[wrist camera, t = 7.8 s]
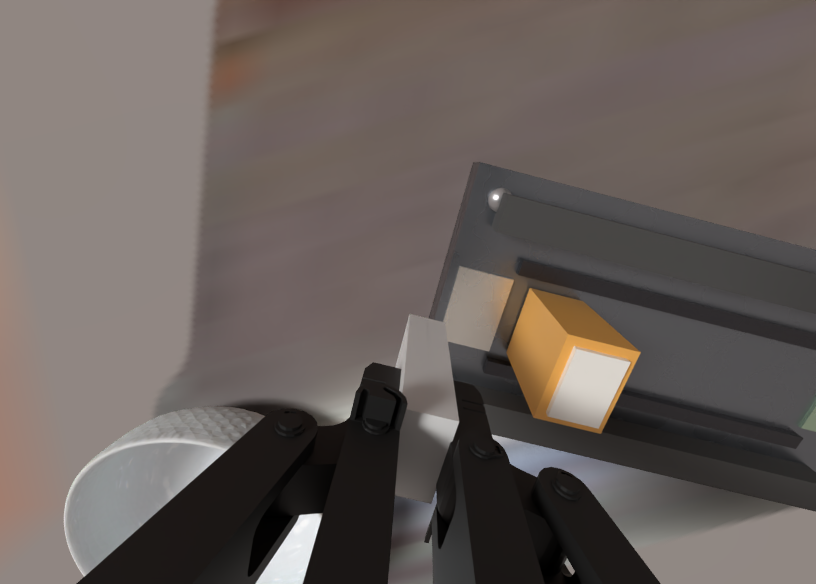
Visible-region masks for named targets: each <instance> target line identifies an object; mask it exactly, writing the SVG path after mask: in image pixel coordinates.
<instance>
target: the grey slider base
mask: <svg viewBox="0 0 816 584" xmlns="http://www.w3.org/2000/svg"><path fill="white" fill-rule="evenodd" d="M503 193H507V194H511V195H515V196H519V197H523V198H527V199H531V200H535V201H539V202H542V203H546V204H550V205H554V206H558V207H562V208H565V209H569V210H573V211H577V212H581V213H585V214H589V215H592V216H596V217H600V218H604V219H608V220H612V221H616V222H619V223H623V224H627V225H631V226H635V227H639V228H643V229H646V230H650V231H654V232H658V233H662V234H666V235H670V236H673V237H677V238H681V239H685V240H689V241H693V242H697V243H700V244H704V245H708V246H712V247H716V248H720V249H724V250H727V251H731V252H735V253H739V254H743V255H747V256H751V257H754V258H758V259H762V260H766V261H770V262H774V263H777V264H781V265H785V266H789V267H793V268H797V269H801V270H804V271H808V272H812V273H816V250H814V249H810V248H806V247H802V246H798V245H794V244H791V243H787V242H783V241H779V240H775V239H772V238H768V237H764V236H760V235H756V234H752V233H749V232H745V231H741V230H737V229H733V228H729V227H726V226H722V225H718V224H714V223H710V222H707V221H703V220H699V219H695V218H691V217H687V216H684V215H680V214H676V213H672V212H668V211H664V210H661V209H657V208H653V207H649V206H645V205H642V204H638V203H634V202H630V201H626V200H622V199H619V198H615V197H611V196H607V195H603V194H599V193H596V192H592V191H588V190H584V189H580V188H576V187H573V186H569V185H565V184H561V183H557V182H554V181H550V180H546V179H542V178H538V177H534V176H531V175H527V174H523V173H519V172H515V171H511V170H508V169H504V168H500V167H496V166H492V165H489V164H485V163H481V162H473V165H472V168H471V172H470V175H469V179H468V182H467V186H466V189H465V193H464V196H463V200H462V203H461V207H460V210H459V214H458V217H457V221H456V225H455V228H454V232H453V235H452V239H451V242H450V246H449V249H448V253H447V256H446V260H445V263H444V267H443V270H442V274H441V277H440V281H439V284H438V288H437V291H436V295H435V298H434V302H433V305H432V309H431V312H430V316H429V319H433V320H437V321H441V322H445V326H446V333H447V340H448V347H449V354H450V361H451V368H452V375H453V380H457V381H461V382H465V383H469V384H474V385H478V386H482V387H486V388H490V389H494V390H498V391H502V392H507V393H511V394H515V395H519V396H523V397H525V396H524V394H523V392H522V389H521V387H520V384H519V382H518V380H517V377H516V375H515V372H514V370H513V368H512V365H511V363H510V360H509V358H508V356H507V353H506V352H507V349H508V346H509V343H510V341H511V338H512V335H513V333H514V330H515V327H516V324H517V322H518V319H519V316H520V313H521V311H522V308H523V305H524V302H525V300H526V297H527V294H528V292H529V289H530V288H533V289H537V290H541V291H545V292H549V293H552V294H556V295H560V296H564V297H568V298H572V299H576V300H580V301H583V302H585V303H586V304H587V305H588V306H589V307H590V308H591V309H593V310H594V311H595V312H596V313H597V314H598V315H599V316H600V317H602V318H603V319H604V320H605V321H606V322H607V323H608V324H609V325H611V326H612V327H613V328H614V329H615V330H616V331H617V332H618V333H620V334H621V335H622V336H623V337H624V338H625V339H626V340H627V341H629V342H630V343H631V344H632V345H633V346H634V347H635V348H636V349H638V350H639V351H640V352H641V353H640V355H639V357H638V359H637V361H636V363H635V365H634V367H633V369H632V371H631V373H630V376H629V378H628V380H627V382H626V384H625V386H624V388H623V390H622V392H621V394H620V396H619V398H618V400H617V402H616V404H615V406H614V408H613V410H612V412H611V414H610V416H609V417H610V418H614V419H618V420H622V421H626V422H630V423H635V424H639V425H643V426H647V427H651V428H655V429H659V430H663V431H668V432H672V433H676V434H680V435H684V436H688V437H692V438H696V439H701V440H705V441H709V442H713V443H717V444H721V445H725V446H729V447H734V448H738V449H742V450H746V451H750V452H754V453H758V454H762V455H767V456H771V457H775V458H779V459H783V460H787V461H791V462H795V463H800V464H804V465H807V466H808V467H810V468H811V469H812V470H813V471H815V472H816V314H813V313H809V312H806V311H802V310H798V309H794V308H790V307H786V306H782V305H778V304H774V303H770V302H766V301H763V300H759V299H755V298H751V297H747V296H743V295H739V294H735V293H731V292H727V291H723V290H720V289H716V288H712V287H708V286H704V285H700V284H696V283H692V282H688V281H684V280H680V279H677V278H673V277H669V276H665V275H661V274H657V273H653V272H649V271H645V270H641V269H637V268H634V267H630V266H626V265H622V264H618V263H614V262H610V261H606V260H602V259H598V258H594V257H591V256H587V255H583V254H579V253H575V252H571V251H567V250H563V249H559V248H555V247H551V246H548V245H544V244H540V243H536V242H532V241H528V240H524V239H520V238H516V237H512V236H508V235H505V234H501V233H497V232H496V231H495V230H494V229H493V228H492V227H491V226H492V223H493V220H494V216H495V213H496V212H497V211H498V208H499V205H500V201H501V198H502V195H503Z"/></svg>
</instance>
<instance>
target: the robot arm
mask: <svg viewBox="0 0 816 584" xmlns="http://www.w3.org/2000/svg"><path fill="white" fill-rule="evenodd" d="M435 491H436V492H437V504H436V507H435V510H434V513H433V515H432V518H431V521H430V524H429V527H428V530H427V533H426V536H425V541H424V542H426V543H429V540H430V537H431V535H432V556H433V584H660V582H659V581H658V580H657V578H656V577H655V576H654V574H653V573H652V572H651V571H650V569H649V568H648V566H647V565H646V564H645V563H644V561H643V560H642V559H641V557H640V556H639V555H638V553H637V552H636V551H635V549H634V548H633V547H632V545H631V544H630V543H629V541H628V540H627V539H626V537H625V536H624V535H623V533H622V532H621V531H620V530H619V528H618V527H617V526H616V524H615V523H614V522H613V520H612V519H611V518H610V516H609V515H608V514H607V512H606V511H605V510H604V508H603V507H602V506H601V504H600V503H599V502H598V500H597V499H596V498H595V497H594V495H593V494H592V493H591V491H590V490H589V489H588V488H587V487H586V485H585V484H584V483H583V482H582V481H581V480H579V479H578V478H577V477H575V476H574V475H572V474H571V473H569V472H566V471H564V470H562V469H558V468H554V467H549V468H544V469H543V470H541V471H540V472H539V475H538V477H535V476H533V475H531V474H529V473H526V472H524V471H522V470H520V469H518V468H516V467H515V466H513V465H511V464H510V462H509V459H508V455H507V454H506V452H505V450H504V448H503V447H502V446H501V445H500V444H499V443H498V442H497V441H495V440H493V438H492V434H491V430H490V426H489V423H488V419H487V415H486V411H485V407H484V403H483V399H482V395H481V394H480V393H479V391H478V390H477V389H476V388H475V386H474V385H471V384H467V383H463V382H458V381H454V380H453V375H452V368H451V361H450V354H449V347H448V340H447V333H446V326H445V322H441V321H437V320H433V319H429V318H424V317H420V316H416V315H412V314H410V315H409V318H408V322H407V326H406V330H405V333H404V337H403V341H402V345H401V349H400V352H399V356H398V360H397V364H396V367H391V366H386V365H382V364H378V363H374V362H373V363H372V364H370V365H369V366H368V367H366V368H365V371H364V374H363V378H362V381H361V385H360V387H359V388H358V390H357V391H356V394H355V399H354V403H353V407H352V411H351V415H350V418H348V419H347V420H346V421H345V422H343V423H341V424H337V425H334V426H317V422H316V421H315V419H314V418H313V417H312V416H311V415H309V414H308V413H306V412H304V411H301V410H297V409H280V410H276V411H273V412H271V413H269V414H268V415H266V416H265V417H264V418H262V419H261V420H260V421H259V422H258V423H257V424H256V425H255V426H253V427H252V428H251V429H250V430H249V431H248V432H247V433H246V434H244V435H243V436H242V437H241V438H240V439H239V440H238V441H237V442H235V443H234V444H233V445H232V446H231V447H230V448H229V449H228V450H226V451H225V452H224V453H223V454H222V455H221V456H220V457H219V458H217V459H216V460H215V461H214V462H213V463H212V464H211V465H210V466H208V467H207V468H206V469H205V470H204V471H203V472H202V473H201V474H199V475H198V476H197V477H196V478H195V479H194V480H193V481H192V482H190V483H189V484H188V485H187V486H186V487H185V488H184V489H183V490H181V491H180V492H179V493H178V494H177V495H176V496H175V497H174V498H172V499H171V500H170V501H169V502H168V503H167V504H166V505H165V506H163V507H162V508H161V509H160V510H159V511H158V512H157V513H156V514H154V515H153V516H152V517H151V518H150V519H149V520H148V521H146V522H145V523H144V524H143V525H142V526H141V527H140V528H139V529H137V530H136V531H135V532H134V533H133V534H132V535H131V536H130V537H128V538H127V539H126V540H125V541H124V542H123V543H122V544H121V545H119V546H118V547H117V548H116V549H115V550H114V551H113V552H112V553H110V554H109V555H108V556H107V557H106V558H105V559H104V560H103V561H101V562H100V563H99V564H98V565H97V566H96V567H95V568H94V569H92V570H91V571H90V572H89V573H88V574H87V575H86V576H85V577H83V578H82V579H81V580H80V581H79V582H78V583H77V584H255V583H256V582H257V580H258V579H259V577H260V576H261V574H262V573H263V572H264V570H265V569H266V567H267V566H268V564H269V563H270V561H271V560H272V558H273V557H274V555H275V554H276V552H277V551H278V549H279V548H280V546H281V545H282V543H283V542H284V540H285V539H286V537H287V536H288V534H289V533H290V531H291V530H292V528H293V527H294V525H295V524H296V522H297V520H298V518H299V516H300V515H307V514H319V513H323V514H322V518H321V521H320V525H319V528H318V532H317V535H316V539H315V542H314V546H313V549H312V553H311V556H310V560H309V563H308V567H307V570H306V574H305V577H304V581H303V584H388V572H389V560H390V548H391V536H392V523H393V511H394V499H395V496H399V497H404V498H408V499H413V500H417V501H421V502H426V503H430V504H431V503H432V500H433V497H434V494H435ZM567 558H568V560H569V562H570V563H571V565H572V567H573V569H574V570H575V573H574V574H573V575H572V574H571V573H570V572H569V570H568V569H567V567H566V565H565V564H564V563H565V561H566V559H567Z"/></svg>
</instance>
